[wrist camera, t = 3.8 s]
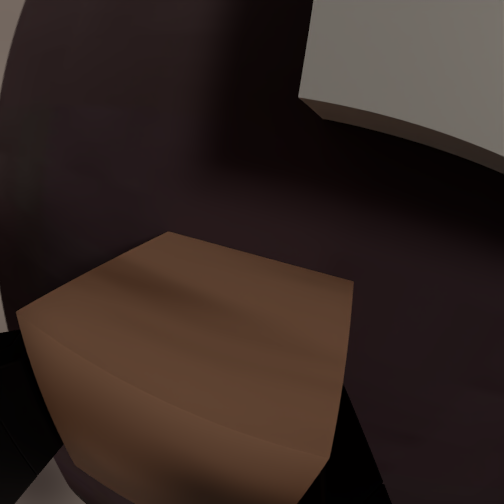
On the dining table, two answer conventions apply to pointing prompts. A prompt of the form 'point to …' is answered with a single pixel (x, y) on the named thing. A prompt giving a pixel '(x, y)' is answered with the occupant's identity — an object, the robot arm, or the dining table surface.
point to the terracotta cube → (194, 372)
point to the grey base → (412, 71)
